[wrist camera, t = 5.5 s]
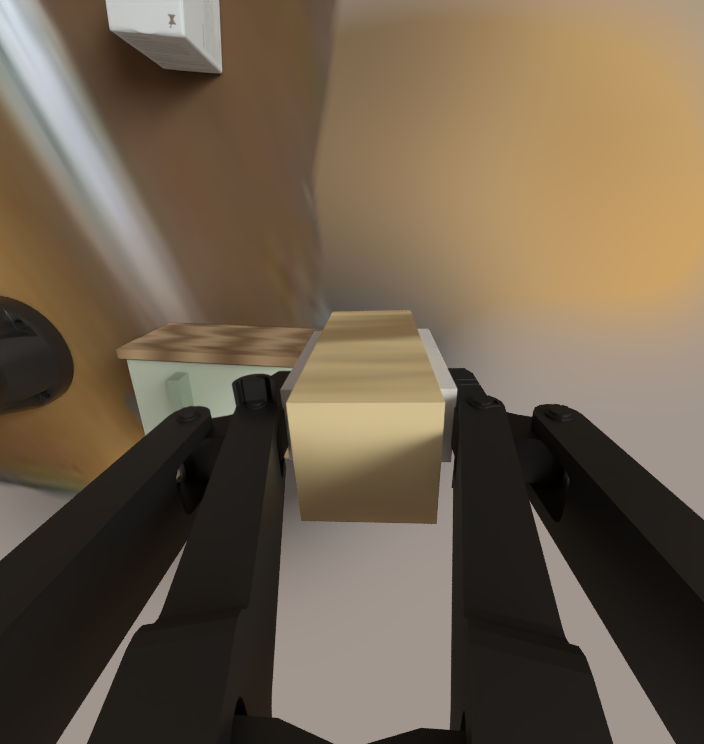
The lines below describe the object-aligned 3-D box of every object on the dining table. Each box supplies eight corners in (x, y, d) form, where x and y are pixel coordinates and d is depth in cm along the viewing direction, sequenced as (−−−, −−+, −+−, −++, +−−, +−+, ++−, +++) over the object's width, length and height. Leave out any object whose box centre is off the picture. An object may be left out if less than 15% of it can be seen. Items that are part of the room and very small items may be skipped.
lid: (150, 430, 40) (134, 445, 37) (132, 356, 36) (113, 367, 34) (334, 441, 39) (331, 458, 36) (335, 366, 35) (331, 378, 33)
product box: (220, -9, 31) (177, -74, 24) (223, 76, 33) (185, 39, 27) (153, -16, 31) (91, -83, 24) (161, 69, 33) (107, 30, 27)
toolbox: (186, 406, 48) (141, 449, 39) (170, 322, 43) (115, 349, 34) (394, 418, 47) (399, 465, 38) (402, 332, 42) (409, 363, 33)
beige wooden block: (332, 311, 18) (286, 403, 9) (410, 309, 18) (445, 402, 9) (337, 381, 20) (301, 520, 10) (408, 380, 19) (436, 523, 10)
